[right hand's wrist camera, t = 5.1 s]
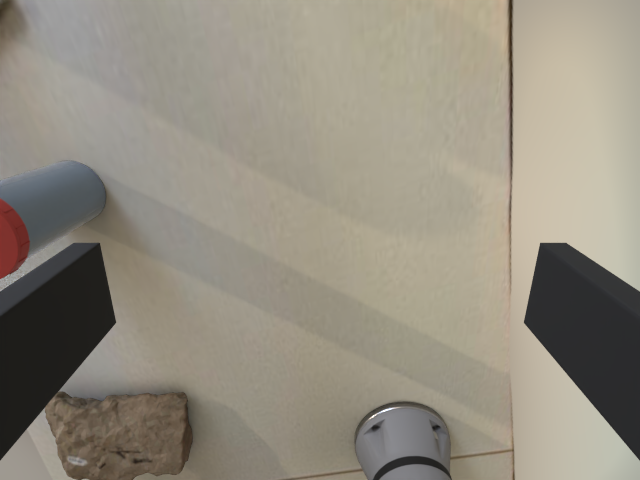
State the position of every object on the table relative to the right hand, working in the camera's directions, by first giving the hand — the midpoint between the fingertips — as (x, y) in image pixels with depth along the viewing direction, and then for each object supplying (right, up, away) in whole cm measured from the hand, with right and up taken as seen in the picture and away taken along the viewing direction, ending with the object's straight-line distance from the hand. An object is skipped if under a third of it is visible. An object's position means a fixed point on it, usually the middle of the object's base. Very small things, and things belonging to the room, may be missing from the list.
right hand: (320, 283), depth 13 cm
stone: (-31, -27, +54) cm, 68 cm away
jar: (-32, +8, +41) cm, 52 cm away
